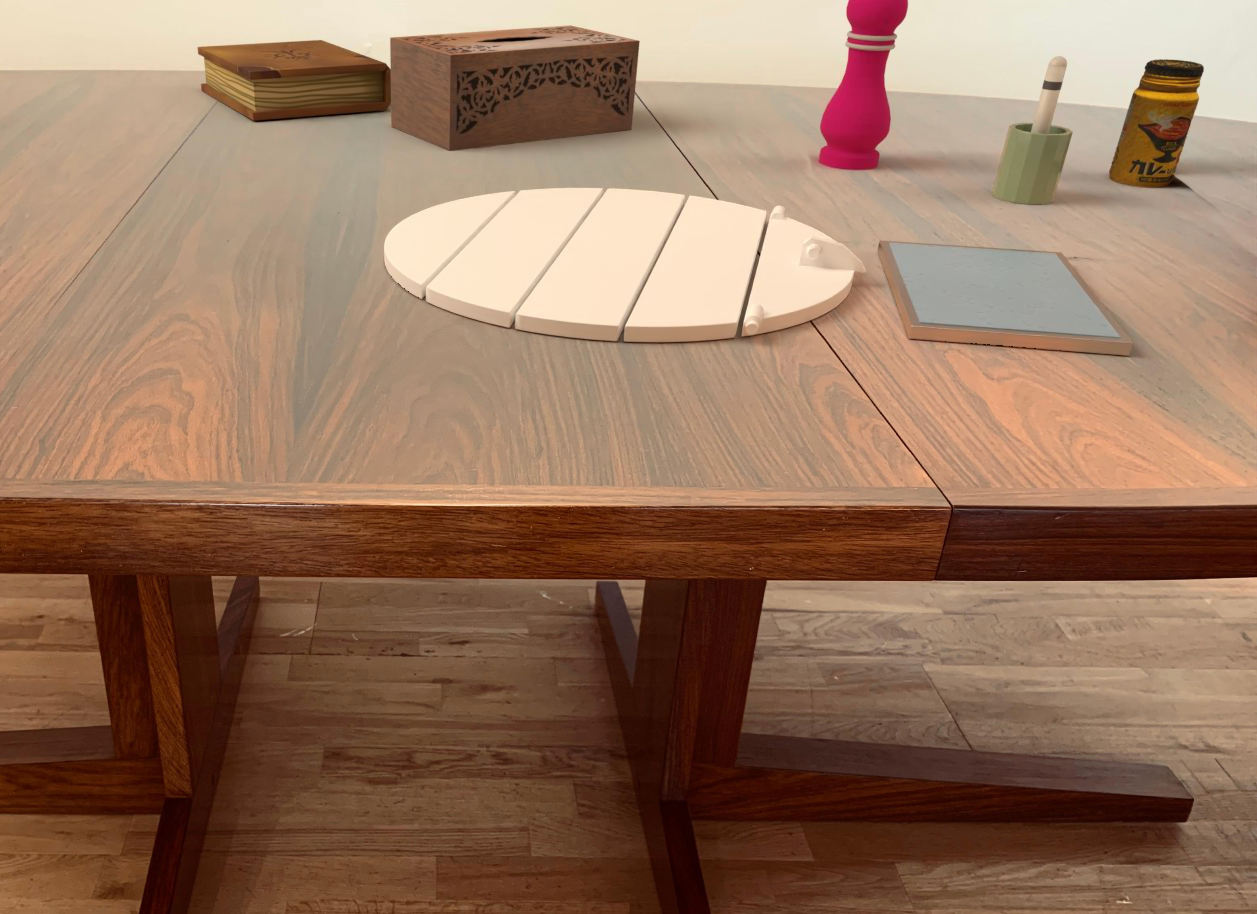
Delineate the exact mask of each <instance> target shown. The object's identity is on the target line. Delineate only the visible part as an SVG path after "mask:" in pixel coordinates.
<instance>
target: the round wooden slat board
mask: <svg viewBox="0 0 1257 914" xmlns="http://www.w3.org/2000/svg"><path fill="white" fill-rule="evenodd" d="M685 200H686V194H682V193H676V192H675V193H674V192H666V191H655V190H644V189H629V188H607V189H606V190H605V192H604V187H557V188H556V187H554V188H553V187H552V188H536V189H535V188H534V189H521V190H519V191H518V192H517V193H516V190H510V191H501V192H494V193H487V194H480V195H474V196H470V197H464V198H460V199H455V200H451V201H447V202H443V203H440V204H436V205H433V206H430V207H428V208H425V209H422V210H420V211H418V212H415V213H413V214H411V215H409V216H407V217H406V218H404V219H402V220H400V221H399V222H398V223H397V224H396V225H395V226H393V228H392V229H391V230H390V231H389V232H388V233H387V235H386V237H385V239H384V244H383V255H384V256H383V258H384V260H383V261H384V266H385V268H386V271H387V273H388V274H389V275H390V277H391V276H392V277H391V278H392V279H393V280H394V281H395V283H397V284H398V283H399V284H400V285H401V286H400V285H399V284H398V285H399V286H400V287H402V288H403V289H404V288H405V289H404V290H406V291H407V292H408V291H409V292H408V293H410V294H411V295H413V296H415V297H416V298H418V297H419V299H420V300H423V298H424V297H425V302H426V303H428V304H431V305H433V306H435V307H437V308H440V309H443V310H444V311H447V312H451V313H453V314H456V315H459V316H462V317H465V318H469V319H472V320H475V321H479V322H483V323H486V324H491V325H495V326H499V327H503V328H508V329H510V328H511V326H512V325H513V323H514V329H515V330H518V331H524V332H528V333H529V332H530V333H536V334H542V335H548V336H554V337H563V338H564V337H565V338H573V339H581V340H582V339H583V340H592V341H593V340H594V341H605V342H606V341H607V342H617V341H619V339H620V336H621V334H622V332H623V342H627V343H682V342H683V343H684V342H685V343H686V342H687V343H688V342H703V341H716V340H725V339H727V340H728V339H734V338H736V336H737V331H738V328H739V324H740V320H741V316H742V312H743V308H744V304H745V301H746V297H747V294H748V289H749V286H750V281H751V278H752V274H753V270H754V266H755V263H756V259H757V255H758V251H759V248H760V244H761V241H762V236H763V232H764V228H765V225H766V219H767V213H768V212H767V210H765V209H760V208H757V207H753V206H748V205H745V204H739V203H735V202H730V201H726V200H721V199H715V198H710V197H709V198H708V197H704V196H697V195H689V196H688V198H687V200H686V202H685ZM758 259H759V260H758V264H757V266H756V267H757V268H756V271H755V275H754V279H753V283H752V287H751V291H750V295H749V298H748V304H747V307H746V310H745V315H744V318H743V323H742V330H741V338H743V337H749V336H755V335H760V334H766V333H770V332H776V331H779V330H780V331H781V330H784V329H787V328H791V327H794V326H798V325H801V324H804V323H807V322H809V321H813V320H814V319H817V318H819V317H821V316H823V315H825V314H827V313H829V312H831V311H832V310H833V309H835V308H837V307H838V306H839V305H841V303H842V302H844V301H845V299H846V298H847V297H848V295H849V294H850V292H851V289H852V285H853V280H854V276H855V273H863V274H865V273H867V269H866V267H865V265H864V262H863V260H861V258H859V257H858V256H857V254H855V253H854V252H853V251H852V250H851V249H850V248H848V247H847V246H846V245H845V244H844V243H842V242H839V241H836V240H835V239H834V238H832V237H831V236H829V235H828V234H826V233H824V232H822V231H821V230H818V229H816V228H815V227H812V226H810V225H807V224H806V223H803V222H800V221H799V220H796V219H792V218H791V217H787V216H786V208H785V207H784V206H783V205H776V206H774V207H773V209H772V212H770V216H769V220H768V224H767V228H766V232H765V236H764V240H763V243H762V247H761V251H760V256H759V258H758Z"/></svg>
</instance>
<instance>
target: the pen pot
mask: <svg viewBox="0 0 1257 914" xmlns="http://www.w3.org/2000/svg"><path fill="white" fill-rule="evenodd" d="M1032 125H1033V122H1017V123H1012V124H1011V125H1009V126H1008V129H1007V133H1006V137H1005V141H1004V144H1003V149H1002V152H1001V156H1000V160H999V164H998V168H997V172H996V176H995V181H994V185H993V188H992V191H991V195H992V196H993V198H994V199H997V200H999V201H1003V202H1006V203H1011V204H1017V205H1024V206H1025V205H1027V206H1043V205H1049V204H1052V203H1053V202H1054V199H1055V196H1056V193H1057V189H1058V186H1059V184H1060V183H1059V182H1060V179H1061V175H1062V172H1063V169H1064V164H1065V161H1066V158H1067V154H1068V151H1069V146H1070V144H1071V140H1072V136H1073V130H1071V129H1070V128H1068V127H1065V126H1064V127H1063V126H1061V125H1055V124H1051V126H1050V130H1049V134H1041V133H1032V132H1031V129H1032Z"/></svg>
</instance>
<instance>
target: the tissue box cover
mask: <svg viewBox="0 0 1257 914" xmlns="http://www.w3.org/2000/svg"><path fill="white" fill-rule="evenodd" d="M640 43H641V42H640V40H638V39H634V38H629V37H626V36H625V37H624V36H620V35H616V34H612V33H611V34H610V33H606V32H601V31H598V30H593V29H589V28H585V27H580V26H575V25H572V24H571V25H570V24H569V25H555V26H543V27H528V28H512V29H498V30H482V31H481V30H480V31H468V32H452V33H438V34H424V35H423V34H421V35H409V36H408V35H407V36H394V37H389V46H390V47H389V49H390V50H389V54H390V56H389V57H390V59H389V60H390V69H391V104H390V127H391V128H394V129H396V130H398V131H401V132H403V133H406V134H408V135H411V136H412V137H416V138H418V139H420V140H423V141H426V142H428V143H430V144H433V145H435V146H437V147H440V148H442V149H445V150H447V151H458V150H466V149H475V148H483V147H492V146H500V145H501V146H502V145H508V144H518V143H519V144H520V143H528V142H535V141H543V140H551V139H561V138H562V139H563V138H570V137H578V136H588V135H597V134H607V133H614V132H622V131H630V130H631V131H632V128H633V120H634V119H633V118H634V108H635V95H636V84H637V74H638V64H639V63H638V62H639V51H640V50H639V49H640Z"/></svg>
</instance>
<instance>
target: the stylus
mask: <svg viewBox="0 0 1257 914" xmlns="http://www.w3.org/2000/svg"><path fill="white" fill-rule="evenodd" d="M1067 67H1068V60H1067V59H1066V58H1065V57H1064V56H1062V55H1058V56H1054V57H1053V58H1051V59H1050V61H1049V62H1048V65H1047V68H1046V73H1045V76H1044V80H1043V83H1042V87H1041V91H1040V95H1039V99H1038V103H1037V106H1036V111H1035V114H1034V118H1033V122H1032V123H1033V125H1032V129H1031V132H1032V133H1041V134H1049V130H1050V126H1051V125H1052V122H1053V119H1054V115H1055V112H1056V108H1057V103H1058V100H1059V96H1060V93H1061V89H1062V86H1063V82H1064V78H1065V74H1066V71H1067Z"/></svg>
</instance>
